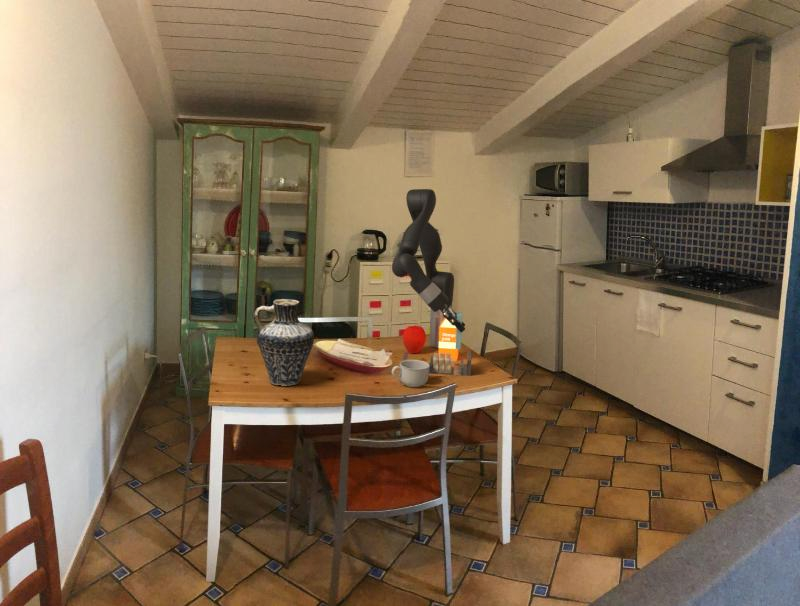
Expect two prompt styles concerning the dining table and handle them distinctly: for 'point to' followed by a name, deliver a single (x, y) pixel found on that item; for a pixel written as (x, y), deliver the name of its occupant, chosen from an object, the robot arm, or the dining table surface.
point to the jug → (284, 342)
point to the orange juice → (447, 339)
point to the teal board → (458, 333)
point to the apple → (414, 338)
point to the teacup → (412, 372)
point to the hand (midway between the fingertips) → (463, 328)
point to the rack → (455, 369)
